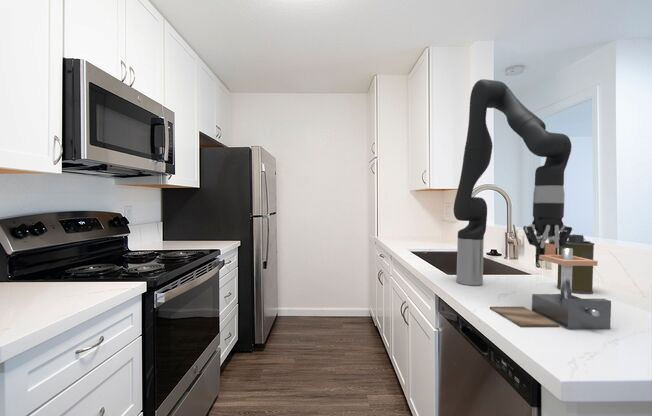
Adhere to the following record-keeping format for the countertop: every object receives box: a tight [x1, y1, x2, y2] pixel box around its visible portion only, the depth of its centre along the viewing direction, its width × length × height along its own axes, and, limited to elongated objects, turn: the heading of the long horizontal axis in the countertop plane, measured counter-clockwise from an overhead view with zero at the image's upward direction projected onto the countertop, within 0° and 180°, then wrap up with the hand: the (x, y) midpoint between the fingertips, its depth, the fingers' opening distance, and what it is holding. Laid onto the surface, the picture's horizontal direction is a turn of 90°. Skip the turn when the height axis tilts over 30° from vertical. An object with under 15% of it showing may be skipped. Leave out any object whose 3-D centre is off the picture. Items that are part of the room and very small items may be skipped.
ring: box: [539, 242, 598, 267], centre depth 90 cm, size 14×9×4 cm, turn 3°
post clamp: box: [531, 248, 612, 330], centre depth 86 cm, size 15×11×19 cm
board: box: [489, 306, 560, 328], centre depth 88 cm, size 14×10×1 cm
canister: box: [556, 234, 595, 295], centre depth 117 cm, size 11×10×20 cm
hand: (546, 260), depth 95 cm, fingers closed on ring, 3 cm apart
